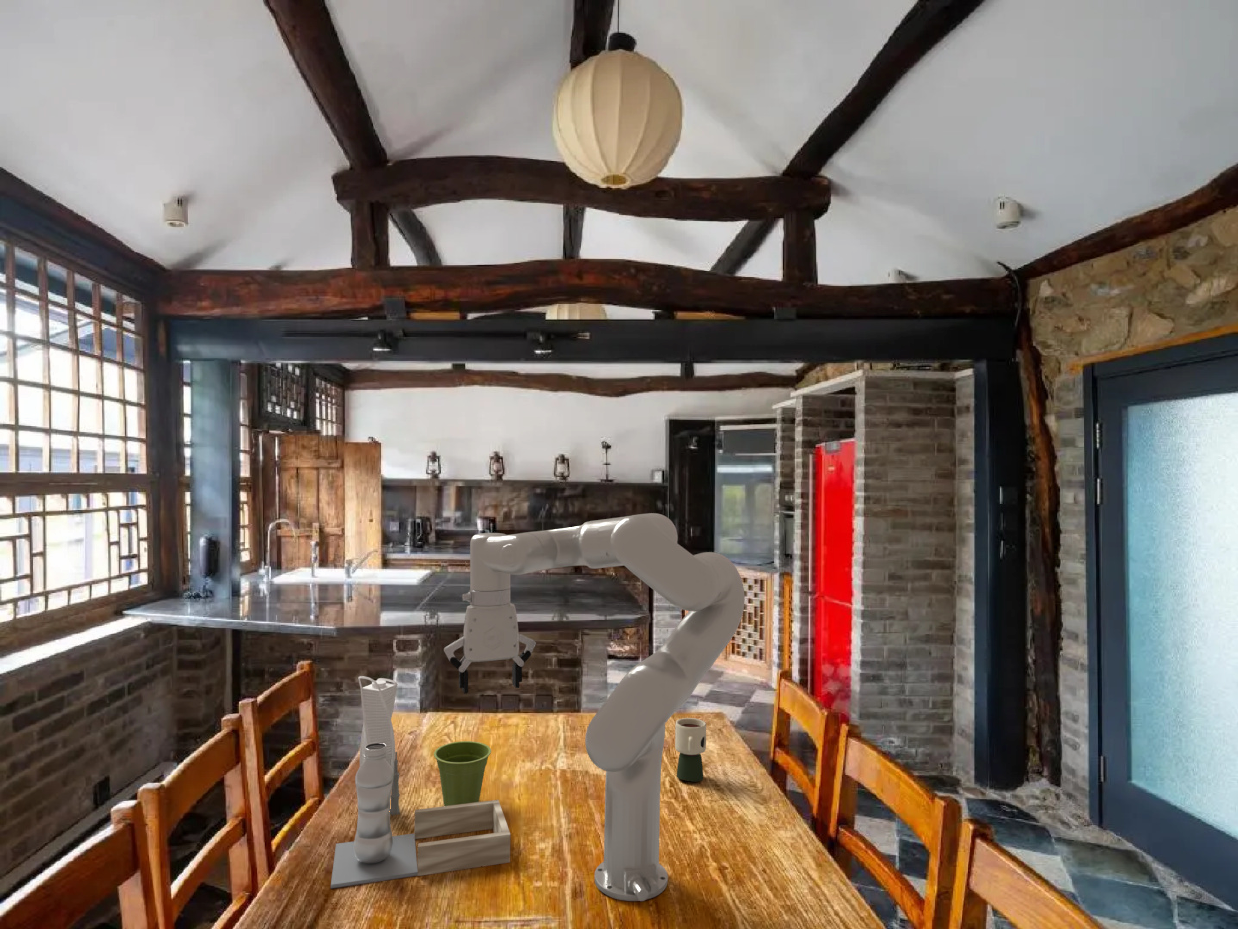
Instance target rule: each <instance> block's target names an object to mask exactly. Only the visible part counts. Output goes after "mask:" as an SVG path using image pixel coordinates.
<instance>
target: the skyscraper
mask: <svg viewBox="0 0 1238 929" xmlns="http://www.w3.org/2000/svg"><path fill="white" fill-rule="evenodd" d="M357 679H358V683H359V687H360V697H361V700H360V701H361V710H362V711H361V712H362V718H363V719H362V720H363V726H362V728H361V729H362V730H361V736H360V737H361V738H360V744H359V745H360V746H359V748H360V749H359V767H360V766H361V765H362V764H363V762H364V761H365V759H364V753H365V746H366V745H368V744H371V743H384V744H386V752H387V756H386V757H385V759H386V761H387V762H388V763H389V765H390V766H391V768H392V770H393V783H392V790H391V796H390V800H391V809H390V815H392V816H396V815H400V814H401V812H400V805H399V804H400V802H399V801H400V789H399V788H400V787H399V786H400V784H399V781H400V780H399V779H400V772H398V771H399V770H398V766H399V765H398V764H399V760H398V752H397V751H396V740H395V733H394V732H395V730H394V726H393V723H392V718H393V712H394V708H395V704H396V703H395V702H396V698H397V697H396V695H397V691H398V682H397V681H395V680H393V679H389V678H384V677H380V678H377V679H376V680H374V679H373V678H372V677H369V676H363V675H359V676H358V678H357ZM361 679H363V680H367V681H370V682H371V684H369V685H365V686H363V685H362V681H361ZM389 682H390V683H389Z"/></svg>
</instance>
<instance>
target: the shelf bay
mask: <svg viewBox="0 0 1238 929" xmlns="http://www.w3.org/2000/svg"><path fill="white" fill-rule="evenodd" d="M502 809H503V808H502V806H501V804H500V800H499V799H494V800H493V799H492V800H484V801H479V802H475V803H467V804H459V805H451V806H444V805H443V806H434V807H427V808H419V809H415V810H414V831H413V832H414V833H413V834H414V835H415V840H417V839H418V840H419V839H425V838H426V839H427V838H433V837H439V836H449V835H454V834H455V835H456V834H462V833H463V834H464V833H470V832H478V831H484V830H492V831H493V833H486V834H485V833H484V834H479V835H478V834H477V835H471V836H465V837H458V838H457V837H455V838H448V839H441V840H434V841H427V842H426V841H425V842H419V843H417V870H418V875H417V876H418V877H420V876H426V875H428V876H429V875H433V874H434V875H435V874H442V873H447V872H452V871H453V872H454V871H461V870H468V869H474V868H475V869H476V868H480V867H481V866H482V867H488V866H493V865H495V866H496V865H499V864H500V865H501V864H507V863H511V832H510V829H509V826H508V823H507V821H506V818H505V814H504V812H503V810H502Z"/></svg>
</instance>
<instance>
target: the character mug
mask: <svg viewBox="0 0 1238 929" xmlns="http://www.w3.org/2000/svg"><path fill="white" fill-rule="evenodd" d="M674 739H675V741H674V747H675V748H674V749H675V751H677V752H678V753H679V755H678V762H677V768H676V778H677V779H679V780H683V781H688V782H690V783H691V782H694V783H695V782H702V781H703V779H704V768H703V760H702V759H703V758H702V757H703V756H702V755H701V754H702V753H704V752H706V749H707V723H706V721H705V720H702V719H699V718H693V717H684V718H683V717H682V718H679V719H676V721H675V738H674Z"/></svg>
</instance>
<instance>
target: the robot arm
mask: <svg viewBox="0 0 1238 929" xmlns="http://www.w3.org/2000/svg"><path fill="white" fill-rule="evenodd" d="M677 531H678V530H677V528H676V526H675V525H674V523H673V521H672V520H671V519H670V518H668V517H667V516H665V515H663V514H660V513H656V512H655V513H654V512H653V513H652V512H651V513H650V512H649V513H640V514H632V515H627V516H620V517H612V518H606V519H605V518H604V519H598V520H590V521H586V522H584V523H583V524H581V525H577V526H572V527H563V528H555V529H547V530H537V531H528V532H527V531H526V532H520V533H513V534H505V533H502V532H501V533H500V532H487V533H486V532H485V533H483V532H482V533H476V534H474V535H473V536H472V537H471V539H470V544H469V545H470V546H469V548H470V550H469V552H470V553H469V557H470V558H469V561H470V562H469V565H470V567H469V569H470V570H469V572H470V573H469V574H470V576H469V578H470V579H469V581H470V583H469V585H470V586H469V587H470V589H469V591H468V592H466V593H462V602H468V603H469V604H470V605H467V606H466V611H465V616H464V623H463V635H462V637H459V639H457V640H455V641H453V642H451V643H450V644H449V645H447V646H445V647H444V648H443V652H444V653H445V655H446V658H447V659H448V661H449V662H450V664H451V665H452V666H453V667H455V668H456V670H458V688H459V689H462V692H463V694H465V695H467V694H468V693H469V672H468V670H467V669H468V667H469V666H470V665H471V663H480V662H490V661H491V662H492V661H503V660H511V659H512V660H513V664H512V666H511V667H512V672H511V674H512V675H511V677H512V678H511V679H512V680H511V682H512V685H513V686H514V688H515V689H520V683H523V667H524V665H525V663H526V662H527V661H528V659H529V658H530V657H531V655H532V652H534V651H533V650H534V649H535V647H536V644H537V642H536V641H535V640H534V639H532V638H530V637H528V636H526V635H523V634H520V633H519V626H518V625H519V624H518V616H517V610H516V605H515V604H514V603H511V575H512V576H513V575H515V576H519V575H520V576H523V575H525V574H530V573H533V572H539V571H543V570H550V569H557V568H563V567H564V568H566V567H575V566H576V567H577V566H586V567H588V568H589V569H592V570H593V569H596V570H597V569H602V568H603V569H605V568H612V567H613V568H614V567H622V566H624V567H625V568H627V569H628V570H629V571H630V573H632V574H633V575H634V576H636V577H637V578H638V579H640V580H641V581H642V582H643V583H645V585H647V586H648V587H649V588H651V589H652V590H653V591H655V592H656V594H659V596H661V597H662V598H663V599H664V600H666V601H667V602H669V603H670V604H671V605H673V606H675V607H676V608H678V609H680V610H683V611H688V612H687V613H686V614H685V615H684V617H683V618H682V619H681V620H680V621H679V622H678V623H677V625H676V626H675V628H674V629H673V631H672V633H671V634H670V635H669V637H668V638H667V639H666V640H665V642H663V644H662V645H661V646H660V647H659V649H657V650H656V651H655V652H654V653H653V654H651V655H649V656H648V657H647V658H645V659H643V660H642V661H640V662H639V663H637V664H636V665H634V666H633V667H632V668H631V669H630V670H629V671H627V673H626V674H625V675H624V677H623V678H622V679H620V681H619V682H618V683H617V685H616V686H615V688H614V689H613V691H612V692H611V693H610V695H609V696H608V697H607V699H606V700H605V701H604V703H603V704H602V705H601V707H600V708H599V709H598V710H597V712H596V713H595V715H594V716H593V717H592V719H591V721H590V722H589V724H588V726H587V728H586V732H585V738H584V741H585V742H584V744H585V749H586V753H587V755H588V758H589V759H590V760H591V762H592V763H593V765H595V766H596V767H597V768H599V769H600V770H603V771H605V787H604V788H605V790H604V791H605V793H604V794H605V795H604V832H603V833H604V834H603V835H604V837H603V840H604V842H603V847H604V848H603V861H602V862H601V863H599V865H598V866H597V867H596V869H595V871H594V884H595V886H596V888H598V890H599V891H601V893H603V894H605V895H606V896H608V897H610V898H613V899H616V900H619V901H625V902H639V901H640V902H645V901H647V900H650V899H652V898H655V897H657V896H659V895H660V894H662V893H663V891H665V889H666V888H667V885H668V878H669V877H668V876H669V875H668V872H667V870H666V868H665V867H664V866H663V865H662V864H660V863H659V862H660V825H661V824H660V823H661V822H660V820H661V819H660V817H661V816H660V815H661V813H660V812H661V809H660V808H661V781H662V779H661V777H662V776H661V774H662V773H661V772H662V760H663V759H662V758H663V752H664V744H665V736H666V723H667V722H668V721H669V719H670V718H671V717H672V716H673V715H674V714H675V713H676V712H678V710H679V709H681V708H682V707H683V706H684V705H685V704H686V703H687V701H688V700H689V699H690V698H691V696H692V694H693V692H694V691H695V689H696V688H697V687H698V685H699V684H700V682H701V681H702V680H703V679H704V677H705V676H706V674H707V673H708V672H709V670H710V669H711V668H712V666H713V665H714V664H715V663H716V661H717V659H718V658H719V657H720V655H721V654H722V653H723V651H724V650H725V649H726V647H727V646H728V644H729V643H730V641H731V640H732V639H733V637H734V635H735V633H736V632H737V629H738V628H739V625H740V623H741V620H742V618H743V614H744V609H745V599H746V598H745V594H746V593H745V587H744V583H743V580H742V577H741V575H740V573H739V570H738V569H737V568H736V566H735V564H734V563H733V562H732V561H731V560H730V558H728V557H726V556H725V555H724V554H721V553H718V552H712V551H709V552H707V551H705V552H700V553H697V554H692V553H691V552H689V551H688V550H687V549H686V548H684V546H681V545H680V544H679V543H678V538H679V537H678V532H677ZM520 643H522V644H523V645H525V647H524V648H525V649H524V650H523V651H522V652H521V653H520ZM460 648H462V652H463V656H462V658H461V659H460V660H459V659H458V658H457V657H456V656H455V654H454V653H455V651H457V650H458V649H460ZM519 653H520V655H519Z"/></svg>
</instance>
